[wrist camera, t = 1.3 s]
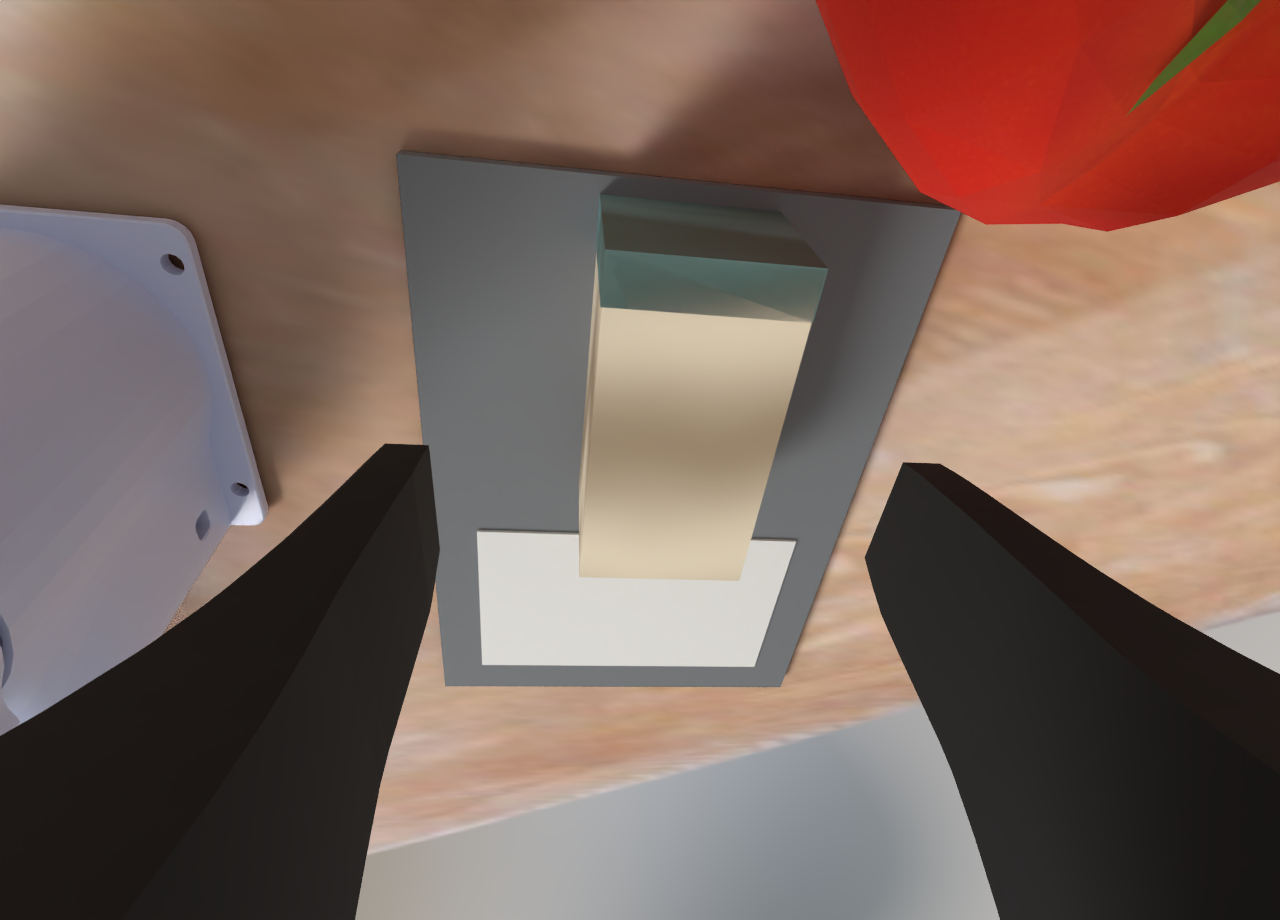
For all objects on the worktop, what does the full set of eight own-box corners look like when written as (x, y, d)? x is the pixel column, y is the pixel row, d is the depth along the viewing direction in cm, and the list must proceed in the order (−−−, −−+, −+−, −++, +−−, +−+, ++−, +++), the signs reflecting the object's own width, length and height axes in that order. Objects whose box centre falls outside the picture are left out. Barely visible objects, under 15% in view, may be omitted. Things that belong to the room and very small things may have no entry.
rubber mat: (778, 679, 29) (781, 689, 29) (446, 677, 27) (444, 688, 27) (954, 206, 18) (963, 211, 17) (400, 150, 16) (395, 154, 15)
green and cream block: (716, 491, 22) (740, 580, 19) (578, 486, 22) (578, 577, 18) (780, 211, 17) (828, 268, 14) (599, 194, 16) (605, 249, 13)
